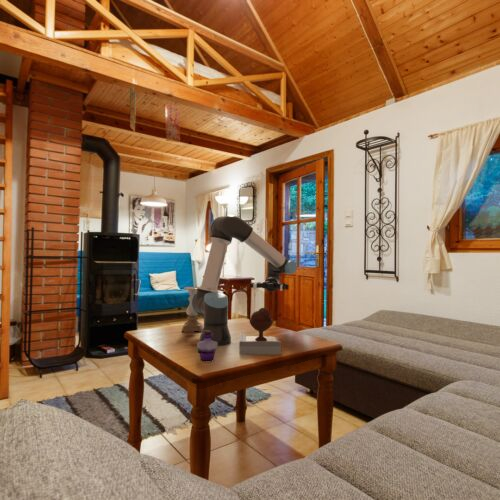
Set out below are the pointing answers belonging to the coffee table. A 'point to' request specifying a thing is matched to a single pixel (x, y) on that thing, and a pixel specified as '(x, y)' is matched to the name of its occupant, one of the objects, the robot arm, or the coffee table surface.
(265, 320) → the ice cream bowl
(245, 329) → the coffee table surface
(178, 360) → the coffee table surface
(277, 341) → the step dock
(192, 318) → the candle holder
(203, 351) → the potion bottle
